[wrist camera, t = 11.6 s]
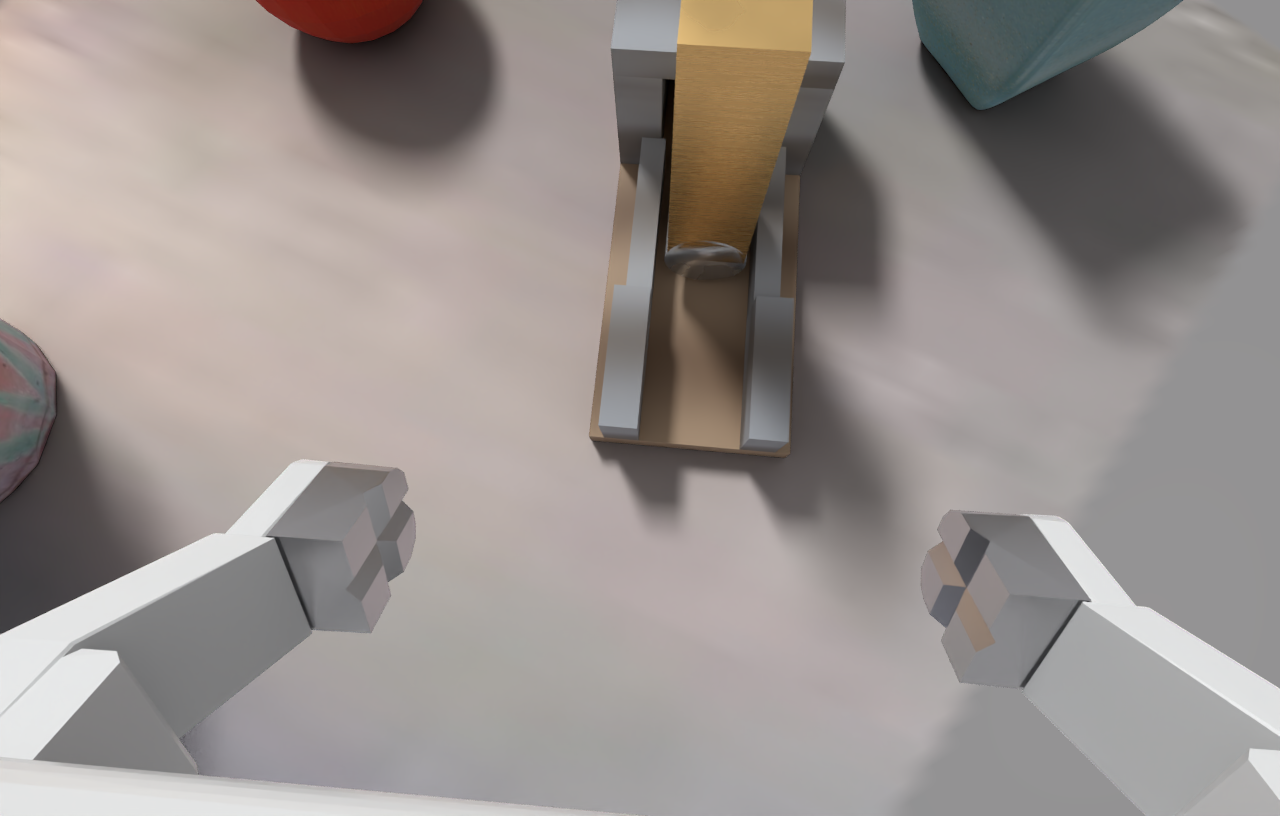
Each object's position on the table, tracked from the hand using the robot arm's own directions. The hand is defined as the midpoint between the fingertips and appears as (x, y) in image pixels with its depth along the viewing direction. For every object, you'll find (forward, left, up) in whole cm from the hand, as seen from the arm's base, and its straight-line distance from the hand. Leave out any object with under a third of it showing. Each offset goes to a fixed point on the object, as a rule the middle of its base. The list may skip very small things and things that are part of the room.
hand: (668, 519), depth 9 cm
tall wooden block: (+16, -1, -13) cm, 21 cm away
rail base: (+12, -1, -15) cm, 19 cm away
